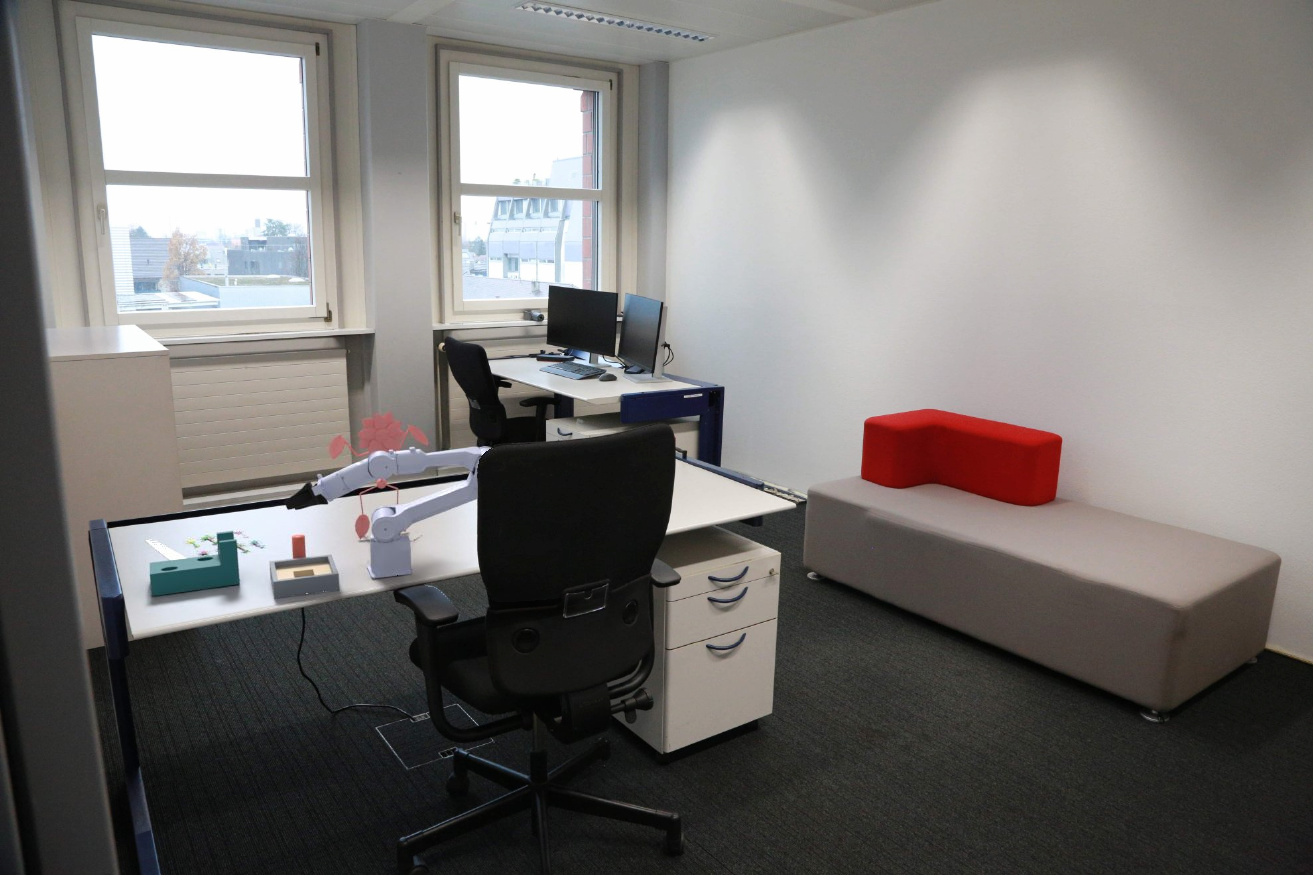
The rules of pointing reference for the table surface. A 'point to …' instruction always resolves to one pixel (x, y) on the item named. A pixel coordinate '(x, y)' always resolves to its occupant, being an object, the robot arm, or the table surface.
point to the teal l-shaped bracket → (198, 570)
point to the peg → (298, 546)
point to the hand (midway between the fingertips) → (290, 506)
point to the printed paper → (174, 555)
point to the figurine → (377, 438)
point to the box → (303, 576)
